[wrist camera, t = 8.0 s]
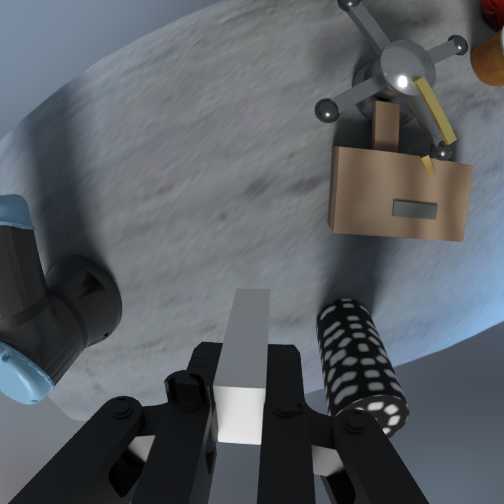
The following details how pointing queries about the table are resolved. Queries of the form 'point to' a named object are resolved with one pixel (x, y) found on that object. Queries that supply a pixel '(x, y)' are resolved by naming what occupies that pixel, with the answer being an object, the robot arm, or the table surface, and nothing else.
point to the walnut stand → (396, 188)
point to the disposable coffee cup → (490, 60)
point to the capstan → (397, 81)
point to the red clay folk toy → (493, 13)
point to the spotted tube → (358, 366)
